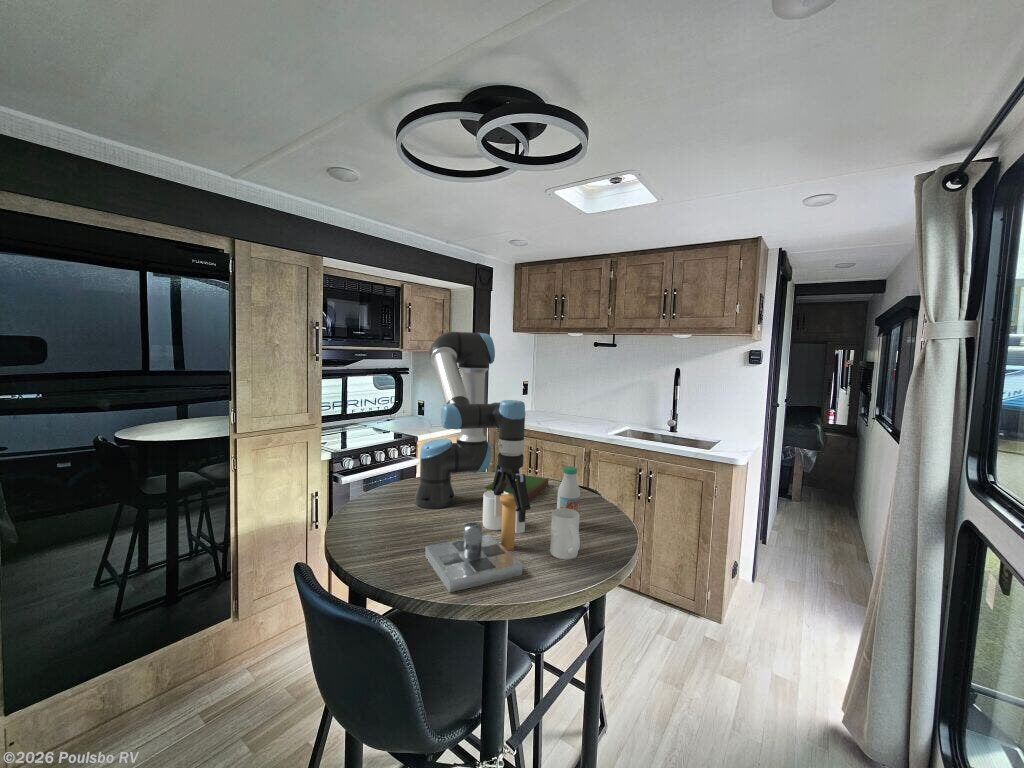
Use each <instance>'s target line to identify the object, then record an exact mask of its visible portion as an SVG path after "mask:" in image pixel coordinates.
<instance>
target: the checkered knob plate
mask: <svg viewBox="0 0 1024 768" xmlns="http://www.w3.org/2000/svg"><path fill="white" fill-rule="evenodd" d="M482 534H483V524H481V523H480V522H467V523H466V524H464V526H463V538H461V539H456V540H452V541H451V540H450V541H445V542H440V543H434V544H430V545H425V549H424V550H425V551H424V552H425V553H424V556H425V558H426V559H428V560H427V561H428V563H429V564H430V566H431V567H432V569H433V570H434V572H435V573H436V574H437V577H438V578H439V579H440V580H441V582H442V584H443V586H444V587H445V588H446V589H447V591H448V593H454V592H457V591H462V590H465V589H469V588H474V587H478V586H482V585H487V584H490V583H494V582H498V581H503V580H507V579H511V578H515V577H519V576H522V575H523V563H522V562H521V561H520V560H519V559H518V558H516V556H514V555H513V554H512V552H510V551H509V550H507V549H506V548H505V547H504V546H502V545H501V542H499V541H498V540H497V539H496V538H495V537H494V536H493V535H492V534H491V533H489V534H485V535H482Z"/></svg>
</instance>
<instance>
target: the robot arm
mask: <svg viewBox="0 0 1024 768" xmlns="http://www.w3.org/2000/svg"><path fill="white" fill-rule="evenodd" d="M430 346H431V347H430V349H429V360H430V363H431V365H432V366H433V367H434V368H435V372H436V375H437V379H438V383H439V387H440V390H441V394H442V397H443V401H444V404H443V405H442V407H441V409H440V420H441V426H442V427H443V428H444V429H447V430H456V431H457V430H460V434H458V436H456V442H453V441H452V440H451V439H450V438H438V439H432V440H429V441H426V442H423V444H422V445H421V446H420V454H419V459H420V462H419V464H420V465H419V469H420V470H419V483H418V486H417V489H416V493H415V495H414V503H415V505H416V506H418V507H421V508H425V509H441V508H447V507H450V506H452V505H453V504H455V502H456V494H455V490H454V488H453V484H452V475H453V474H469V473H474V474H475V473H481V472H485V471H486V470H487V469H488V468H489V466H490V463H491V462H492V461H491V459H492V446H491V442H489V441H487V436H485V434H484V429H498V443H497V446H498V452H499V453H498V454H497V464H496V469H495V470H496V471H495V474H494V477H493V481H492V483H493V484H492V488H491V490H492V491H494V495H495V510H494V516H495V517H498V516H502V503H501V502H500V496H501V494H502V495H503V494H504V489H505V487H506V486H507V484H508V485H509V487H510V489H512V492H513V496H514V499H515V502H516V506H517V507H516V518H515V534H520V533H524V532H526V531H525V529H526V511H530V510H531V504H530V502H529V498H528V492H527V487H526V478H525V475H526V474H525V473H522V474H521V473H520V469H521V468H523V466H524V455H525V454H523V453H525V425H526V423H525V422H526V415H527V414H526V413H527V412H526V403H525V402H524V401H522V400H517V399H516V400H515V399H503V400H501V401H500V402H491V403H485V387H486V386H485V383H486V381H485V380H486V379H485V378H486V372H487V371H488V370H489V369H490V365H492V364H493V363H494V362H495V358H496V349H495V344H494V341H493V338H492V336H491V335H490V334H488V333H483V332H472V331H471V332H470V331H469V332H466V331H464V332H463V331H447V332H444V333H441V334H440V335H438V337H436V338H435V339H434V341H433V342H432V344H431V345H430ZM460 371H461V372H462V374H461V372H460ZM495 486H496V487H495Z"/></svg>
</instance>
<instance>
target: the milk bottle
mask: <svg viewBox="0 0 1024 768" xmlns="http://www.w3.org/2000/svg"><path fill="white" fill-rule="evenodd" d="M562 470H563V471H562V472H563V477H562V480H561V482H560V485H559V486H558V490H557V497H556V498H557V499H556V509H559V508H567V509H572V510H575V511H577V512H578V513H579V515H580V512H581V489H580V486H579V483H578V479H577V475H578V468H577V467H575V466H569V465H568V466H564V467H563V468H562ZM579 519H580V516H579Z"/></svg>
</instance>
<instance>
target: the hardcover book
mask: <svg viewBox="0 0 1024 768" xmlns="http://www.w3.org/2000/svg"><path fill="white" fill-rule="evenodd" d="M525 478H526V487H527V492H528V498H529V503H530V502H531V501H532V500H533V499H534V498H536V497H537V496H538V495H539V494H541V493H542V492H544V491H545V490H546V489H547V488H548V487H549V478H545V477H538V476H532V475H527V474H525ZM492 484H493V482H491V483H489V484H488V485H486V486H485V487H484V490H485V491H484V493H485V492H487V491H492V490H491V488H492ZM495 487H496V486H495ZM546 487H547V488H546ZM541 491H542V492H541ZM504 492H507V493H508V494H513V492H512V489H510V487H509V485H508V484H507V486H506V487H505V489H504ZM540 492H541V493H540Z"/></svg>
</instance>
